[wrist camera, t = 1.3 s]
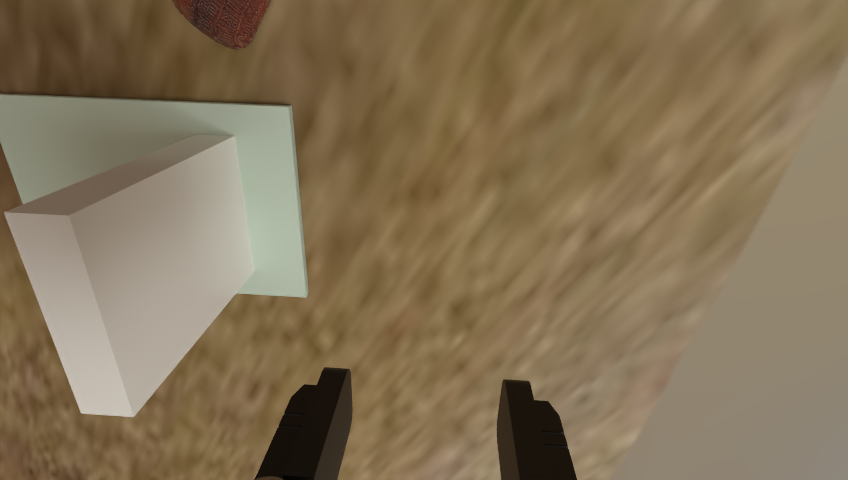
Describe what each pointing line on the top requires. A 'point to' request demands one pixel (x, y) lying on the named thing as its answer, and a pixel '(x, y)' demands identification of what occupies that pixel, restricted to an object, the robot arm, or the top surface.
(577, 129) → the top surface
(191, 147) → the white rectangular block
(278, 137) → the cutting board
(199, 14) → the wooden tablet
